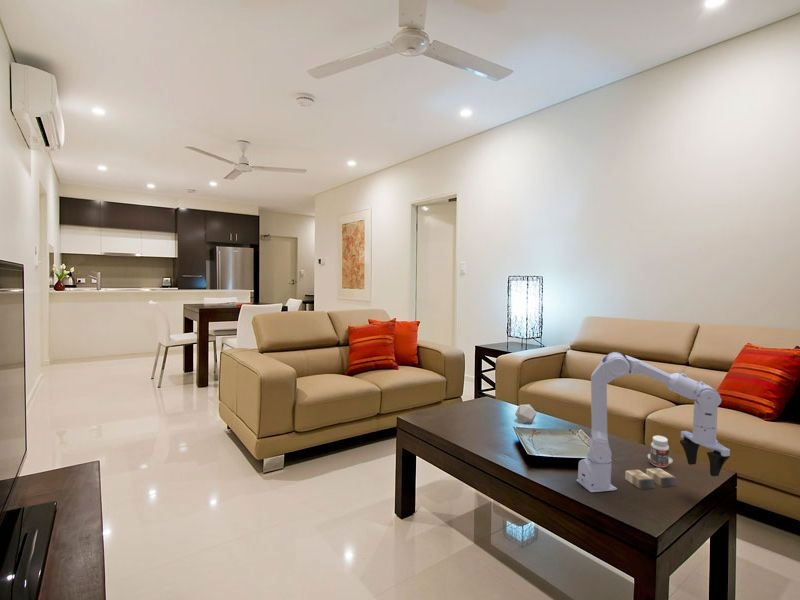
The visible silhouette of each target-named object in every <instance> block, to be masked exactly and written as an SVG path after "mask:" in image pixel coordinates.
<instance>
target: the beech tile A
mask: <svg viewBox="0 0 800 600" xmlns="http://www.w3.org/2000/svg"><path fill="white" fill-rule="evenodd" d="M624 477H625V478H624V479H625V481H628V482H629V483H631V484H632V485H634V486H635V487H636V488H638V489H639V490H649V489H655V483H654V482H655V479H653V478H651V477H650V476H648V475H646V472H643V471H642V470H640V469H630V470H629V469H628V470H625V475H624Z"/></svg>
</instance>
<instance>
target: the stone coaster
mask: <svg viewBox="0 0 800 600" xmlns="http://www.w3.org/2000/svg"><path fill="white" fill-rule="evenodd" d="M647 458H648V460H650V453H648V454H647ZM670 464H673V458H672V457H670V456H669V462H668V465H670Z"/></svg>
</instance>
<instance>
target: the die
mask: <svg viewBox="0 0 800 600" xmlns="http://www.w3.org/2000/svg"><path fill="white" fill-rule="evenodd" d="M515 411H516V412H515V414H514V416H516V418H517V419H518V421H519V422H520V423H521V424H533V422H534V420H535V417H536V416H537V413H538V412H537V411H536V410H535V409H534V408H533V406H532V405H531V404H529V403H528V404H519V405H518V407H517V409H516V410H515Z"/></svg>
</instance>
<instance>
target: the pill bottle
mask: <svg viewBox="0 0 800 600" xmlns="http://www.w3.org/2000/svg"><path fill="white" fill-rule="evenodd" d="M668 443H669V440H668V438H667V437H666V436H663V435H654V436H652V442H651V443H650V453H649V454H650V459H649V461H650V463H651V464H652V465H653V466H655V467H656V468H666V467H668V466H669V464H668V462H669V457H670V446H669V444H668Z"/></svg>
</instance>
